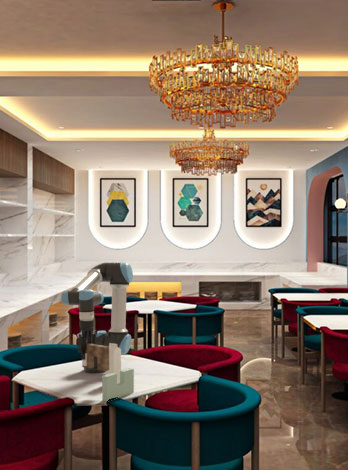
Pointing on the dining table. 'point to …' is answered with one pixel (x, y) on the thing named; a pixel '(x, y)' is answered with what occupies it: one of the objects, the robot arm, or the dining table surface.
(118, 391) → the slot stand
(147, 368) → the dining table surface
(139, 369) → the dining table surface
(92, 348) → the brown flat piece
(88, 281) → the robot arm
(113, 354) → the milk
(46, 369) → the dining table surface
